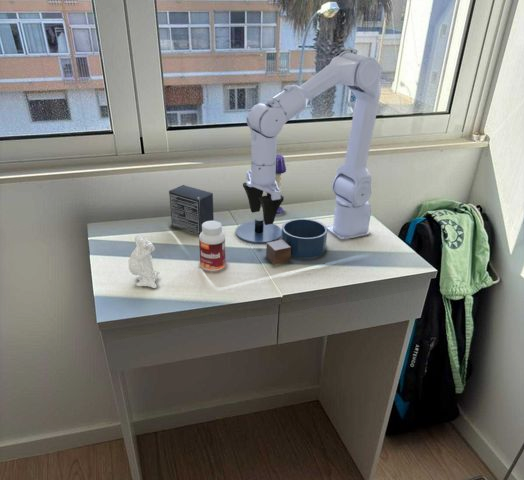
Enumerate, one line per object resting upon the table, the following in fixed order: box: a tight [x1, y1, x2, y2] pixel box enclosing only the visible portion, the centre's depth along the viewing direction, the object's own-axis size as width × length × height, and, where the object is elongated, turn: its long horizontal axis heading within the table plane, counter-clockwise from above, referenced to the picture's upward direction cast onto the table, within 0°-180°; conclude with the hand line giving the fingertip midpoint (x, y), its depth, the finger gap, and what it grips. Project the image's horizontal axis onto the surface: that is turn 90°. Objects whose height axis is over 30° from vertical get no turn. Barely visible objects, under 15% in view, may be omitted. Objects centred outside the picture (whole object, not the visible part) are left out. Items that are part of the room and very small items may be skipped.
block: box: [265, 239, 291, 266], centre depth 129 cm, size 4×4×4 cm
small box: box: [168, 184, 215, 236], centre depth 140 cm, size 11×6×10 cm, turn 58°
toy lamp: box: [275, 154, 287, 215], centre depth 148 cm, size 5×5×17 cm
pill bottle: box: [198, 220, 226, 272], centre depth 124 cm, size 6×6×11 cm
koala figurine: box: [128, 236, 160, 289], centre depth 117 cm, size 8×7×12 cm
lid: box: [235, 216, 282, 245], centre depth 140 cm, size 13×13×5 cm
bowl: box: [280, 218, 329, 259], centre depth 134 cm, size 12×12×6 cm
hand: (261, 217), depth 127 cm, fingers open, 7 cm apart
